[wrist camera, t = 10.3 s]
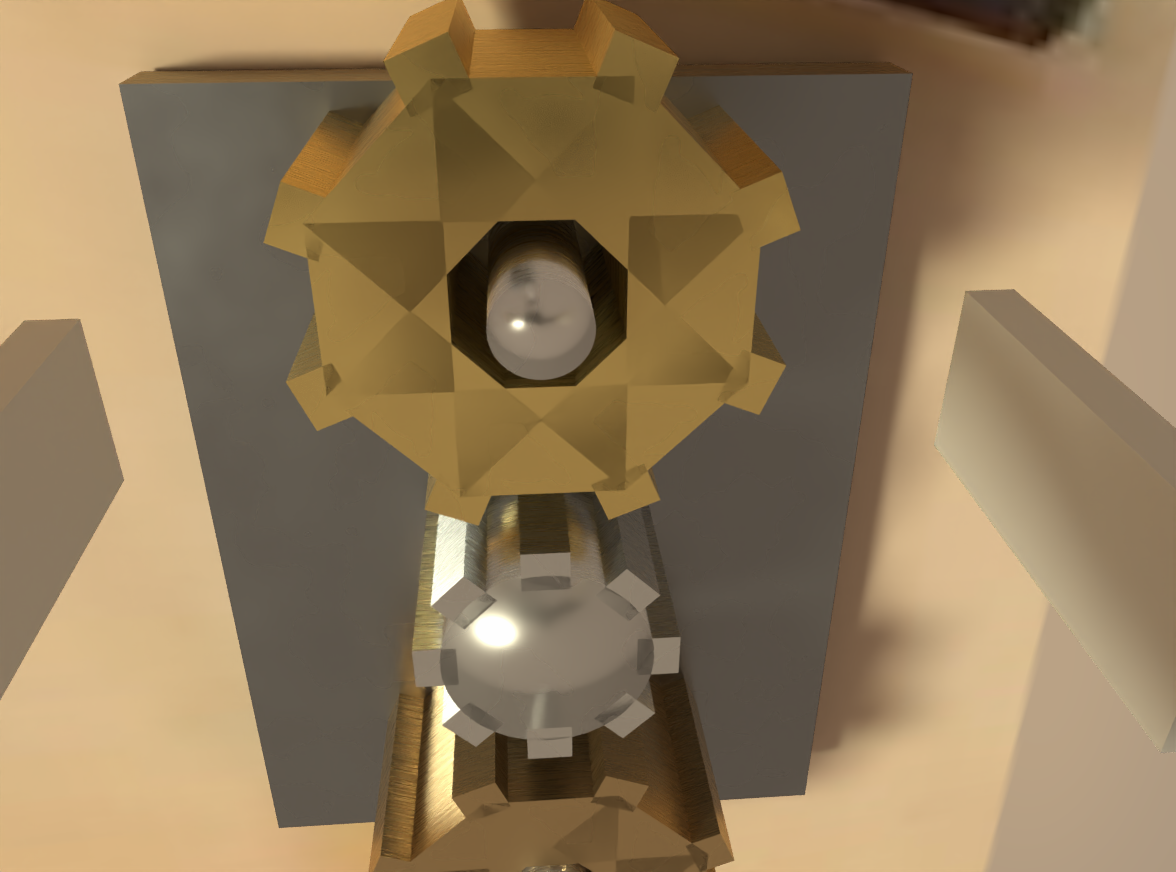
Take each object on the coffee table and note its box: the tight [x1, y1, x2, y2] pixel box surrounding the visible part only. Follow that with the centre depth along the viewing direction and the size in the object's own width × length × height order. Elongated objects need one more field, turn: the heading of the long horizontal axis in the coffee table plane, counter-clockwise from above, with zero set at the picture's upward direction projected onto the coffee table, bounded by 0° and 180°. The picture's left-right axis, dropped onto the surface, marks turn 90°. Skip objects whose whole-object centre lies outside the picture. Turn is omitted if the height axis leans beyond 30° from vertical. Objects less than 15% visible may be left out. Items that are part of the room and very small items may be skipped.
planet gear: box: [264, 0, 800, 526], centre depth 22 cm, size 10×10×6 cm
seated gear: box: [369, 678, 734, 872], centre depth 31 cm, size 10×10×6 cm
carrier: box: [119, 62, 913, 872], centre depth 27 cm, size 24×18×9 cm
